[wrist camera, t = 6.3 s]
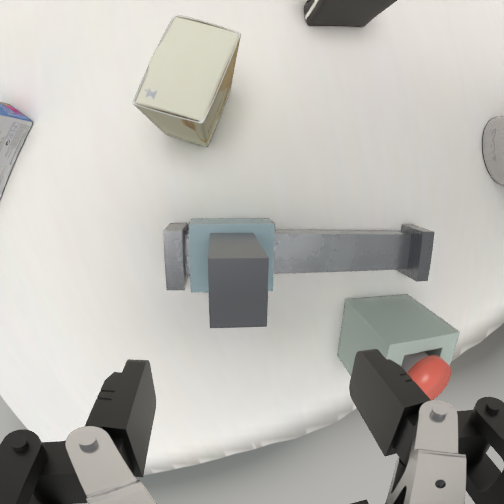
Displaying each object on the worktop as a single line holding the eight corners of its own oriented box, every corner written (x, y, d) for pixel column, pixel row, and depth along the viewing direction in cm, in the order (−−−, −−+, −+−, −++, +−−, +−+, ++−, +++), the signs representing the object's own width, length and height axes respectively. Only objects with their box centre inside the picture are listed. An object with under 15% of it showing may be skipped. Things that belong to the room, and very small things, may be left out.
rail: (412, 224, 32) (434, 231, 28) (407, 269, 33) (427, 280, 29) (170, 223, 29) (163, 231, 25) (172, 275, 30) (166, 290, 26)
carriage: (268, 218, 29) (298, 245, 19) (266, 279, 31) (293, 334, 20) (191, 219, 29) (176, 247, 18) (193, 280, 30) (182, 338, 19)
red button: (401, 311, 32) (456, 357, 22) (394, 348, 33) (441, 399, 23) (365, 315, 31) (416, 367, 21) (358, 353, 32) (401, 410, 23)
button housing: (407, 294, 34) (459, 331, 24) (396, 348, 35) (439, 394, 26) (345, 298, 33) (389, 344, 23) (337, 356, 34) (372, 411, 25)
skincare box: (208, 148, 28) (202, 131, 16) (163, 134, 27) (127, 109, 15) (233, 85, 26) (244, 31, 15) (188, 71, 26) (173, 11, 14)
